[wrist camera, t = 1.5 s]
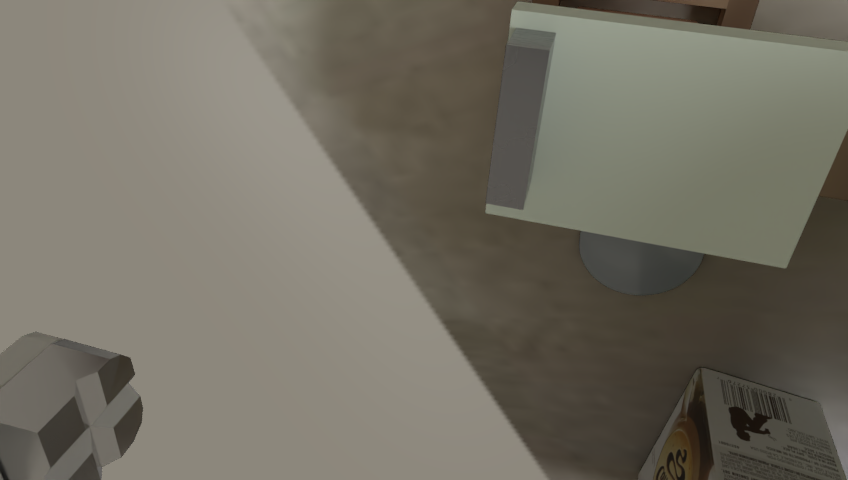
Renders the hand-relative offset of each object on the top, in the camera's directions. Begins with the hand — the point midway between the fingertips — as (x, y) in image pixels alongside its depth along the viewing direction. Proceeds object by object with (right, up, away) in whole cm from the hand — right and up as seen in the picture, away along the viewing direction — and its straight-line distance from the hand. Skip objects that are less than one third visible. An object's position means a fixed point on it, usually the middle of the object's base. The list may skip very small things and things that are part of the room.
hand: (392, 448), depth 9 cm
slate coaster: (+11, +3, +21) cm, 24 cm away
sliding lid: (+8, +6, +12) cm, 16 cm away
